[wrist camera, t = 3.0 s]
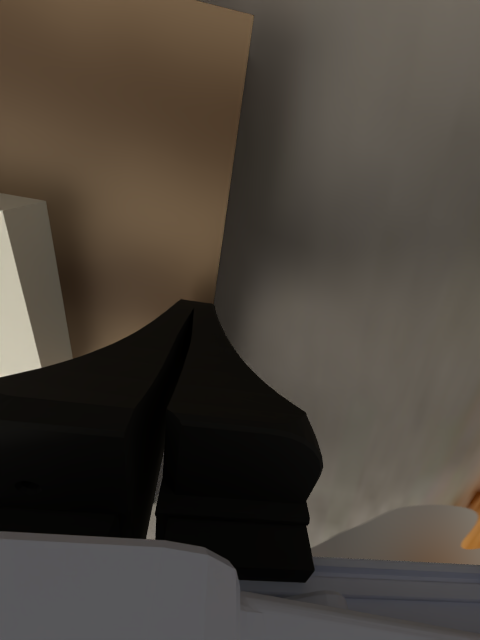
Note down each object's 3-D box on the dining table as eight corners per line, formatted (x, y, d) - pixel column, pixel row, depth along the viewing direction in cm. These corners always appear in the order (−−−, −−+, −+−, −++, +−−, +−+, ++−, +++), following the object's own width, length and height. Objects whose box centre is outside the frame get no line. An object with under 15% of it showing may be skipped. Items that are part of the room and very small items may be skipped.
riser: (198, 407, 19) (193, 447, 16) (-60, 380, 17) (-113, 420, 14) (248, 53, 10) (254, 15, 7) (-292, -78, 8) (-545, -192, 5)
